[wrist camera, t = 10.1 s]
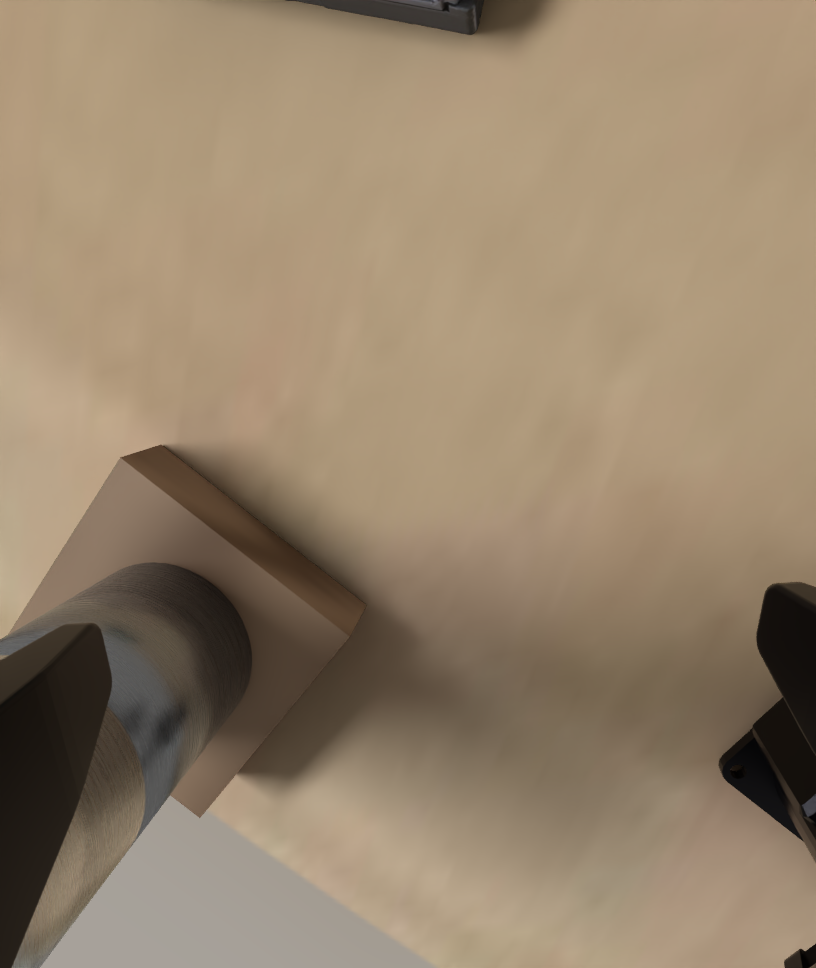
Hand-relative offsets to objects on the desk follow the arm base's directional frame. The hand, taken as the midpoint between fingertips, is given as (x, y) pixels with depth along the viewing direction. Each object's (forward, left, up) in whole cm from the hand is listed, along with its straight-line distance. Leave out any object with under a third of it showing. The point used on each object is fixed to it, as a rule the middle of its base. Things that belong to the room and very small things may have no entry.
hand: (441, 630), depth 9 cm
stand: (+4, +11, -13) cm, 18 cm away
